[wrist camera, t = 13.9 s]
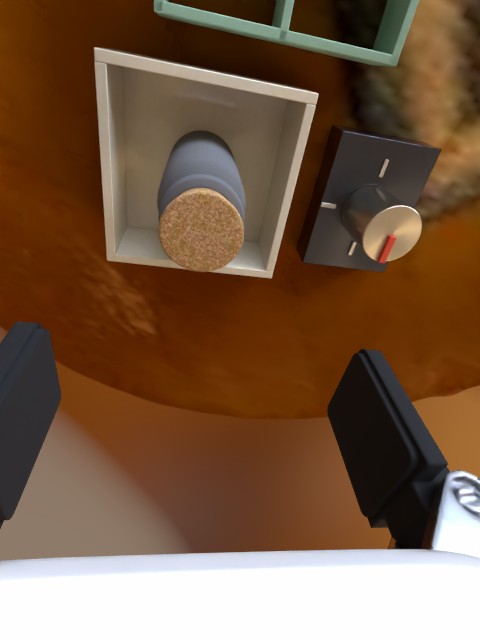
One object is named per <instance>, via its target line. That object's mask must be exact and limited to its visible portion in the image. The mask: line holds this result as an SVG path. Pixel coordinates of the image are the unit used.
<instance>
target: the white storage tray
mask: <svg viewBox="0 0 480 640" xmlns="http://www.w3.org/2000/svg"><path fill="white" fill-rule="evenodd" d="M94 60H95V62H94V64H95V80H96V96H97V112H98V127H99V143H100V159H101V175H102V190H103V206H104V222H105V238H106V253H107V261H115V262H124V263H133V264H142V265H152V266H161V267H170V268H180V269H185V268H183V267H181V266H179V265H178V264H176V263H175V262H174V261H172V260H171V259H170V258H169V256H168V255H167V254H166V253H165V251H164V249H163V248H162V245H161V242H160V239H159V229H158V228H159V219H158V217H159V212H158V206H157V197H158V190H159V186H160V183H161V180H162V176H163V173H164V170H165V167H166V165H167V162H168V159H169V156H170V153H171V151H172V149H173V147H174V145H175V144H176V142H177V141H178V140H179V139H180V138H181V137H182V136H184V135H185V134H187V133H190V132H193V131H201V130H202V131H209V132H211V133H214V134H216V135H218V136H219V137H220V138H222V139H223V140H224V141H225V142H226V143H227V145H228V146H229V148H230V150H231V152H232V154H233V157H234V159H235V162H236V166H237V169H238V172H239V175H240V179H241V182H242V185H243V189H244V193H245V200H246V209H245V215H244V238H243V243H242V246H241V248H240V251H239V252H238V254H237V255H236V257H235V258H234V259H233V260H232V261H231V262H230V263H228V264H227V265H225V266H224V267H222V268H220V269H217V270H214V271H208V272H217V273H226V274H235V275H244V276H254V277H263V278H272V275H273V271H274V267H275V263H276V259H277V255H278V251H279V247H280V244H281V240H282V236H283V232H284V228H285V224H286V220H287V216H288V212H289V209H290V205H291V201H292V197H293V193H294V189H295V185H296V181H297V177H298V174H299V170H300V166H301V162H302V158H303V154H304V150H305V146H306V142H307V138H308V135H309V131H310V127H311V123H312V119H313V115H314V111H315V107H316V106H315V105H316V103H317V99H318V95H319V94H318V93H316V92H313V91H310V90H306V89H303V88H300V87H297V86H292V85H287V84H283V83H278V82H273V81H268V80H263V79H259V78H254V77H249V76H244V75H239V74H234V73H230V72H225V71H220V70H215V69H210V68H205V67H201V66H196V65H191V64H186V63H181V62H176V61H172V60H167V59H162V58H157V57H152V56H148V55H143V54H138V53H133V52H128V51H123V50H119V49H110V48H98V47H94Z"/></svg>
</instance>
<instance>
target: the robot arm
mask: <svg viewBox="0 0 480 640" xmlns="http://www.w3.org/2000/svg"><path fill="white" fill-rule="evenodd" d="M60 400H61V390H60V385H59V380H58V374H57V369H56V365H55V359H54V354H53V349H52V344H51V339H50V334H49V331H48V329H43V327H42V325H41V324H39V323H28V322H16V323H15V324H14V325H13V326H12V328H11V329H10V331H9V332H8V333H7V335H6V336H5V338H4V339H3V341H2V342H1V343H0V528H1V526H2V524H3V521H4V520H9V519H10V518H11V517H12V516H13V514H14V512H15V510H16V507H17V505H18V502H19V500H20V498H21V495H22V493H23V490H24V488H25V486H26V483H27V481H28V478H29V476H30V473H31V471H32V469H33V466H34V464H35V462H36V459H37V457H38V454H39V452H40V449H41V447H42V445H43V442H44V440H45V437H46V435H47V432H48V430H49V428H50V425H51V423H52V420H53V418H54V416H55V413H56V411H57V409H58V406H59V403H60ZM328 417H329V420H330V423H331V426H332V428H333V431H334V434H335V437H336V440H337V443H338V446H339V449H340V451H341V454H342V457H343V460H344V463H345V466H346V469H347V472H348V475H349V478H350V481H351V484H352V486H353V489H354V492H355V495H356V498H357V501H358V504H359V506H360V509H361V512H362V514H363V515H364V516H365V517H367V518H368V520H369V523H370V526H371V528H377V527H378V528H381V527H388V528H389V530H390V533H391V535H392V537H391V540H390V543H389V546H388V549H359V550H317V551H316V550H314V551H313V550H312V551H272V552H271V551H270V552H230V553H192V554H159V555H125V556H94V557H93V556H92V557H65V558H44V559H23V560H3V561H0V640H480V479H479V478H478V477H476V476H474V475H472V474H470V473H468V472H464V471H460V470H459V471H452V472H450V471H449V469H448V468H447V465H448V463H447V461H446V460H445V458H444V456H443V455H442V453H441V451H440V449H439V448H438V446H437V445H436V443H435V441H434V440H433V438H432V436H431V435H430V433H429V431H428V429H427V428H426V426H425V425H424V423H423V421H422V420H421V418H420V416H419V414H418V413H417V411H416V409H415V408H414V406H413V405H412V403H411V401H410V399H409V398H408V396H407V394H406V393H405V391H404V389H403V388H402V386H401V384H400V383H399V381H398V379H397V378H396V376H395V374H394V373H393V371H392V369H391V368H390V366H389V364H388V363H387V361H386V359H385V358H384V356H383V354H382V353H381V352H380V351H378V350H366V349H361V350H360V351H359V352H358V353H355V354H354V355H353V357H352V359H351V361H350V363H349V365H348V367H347V369H346V371H345V373H344V375H343V377H342V379H341V381H340V383H339V385H338V387H337V389H336V391H335V393H334V395H333V397H332V399H331V401H330V403H329V405H328Z"/></svg>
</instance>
